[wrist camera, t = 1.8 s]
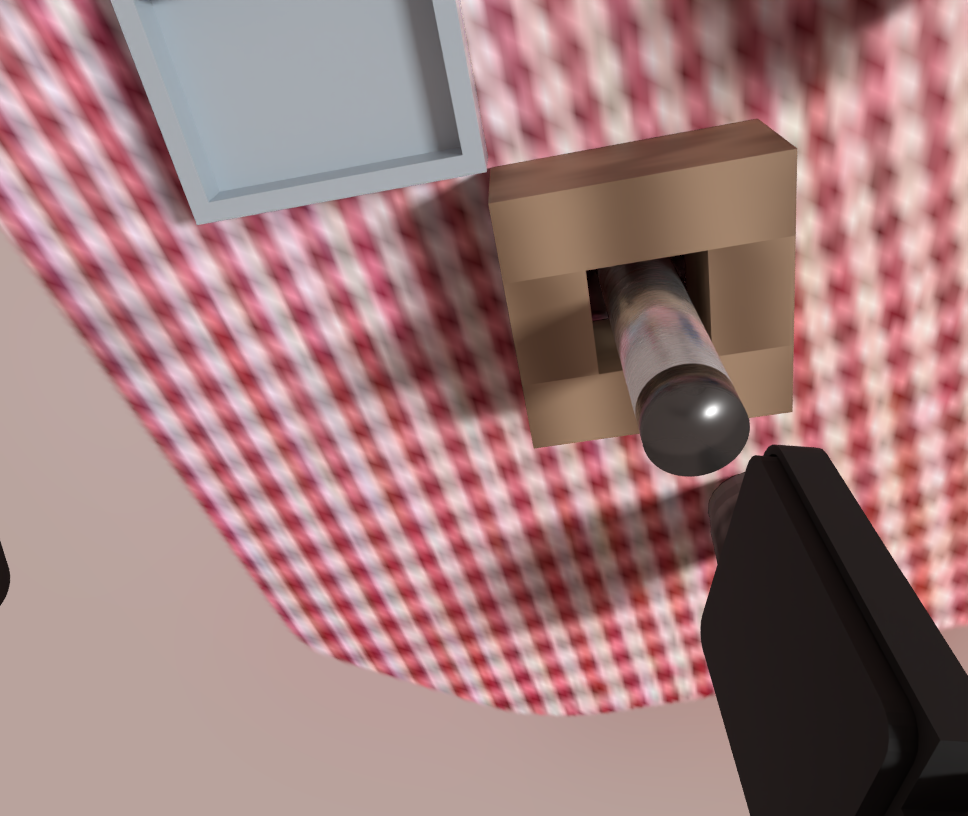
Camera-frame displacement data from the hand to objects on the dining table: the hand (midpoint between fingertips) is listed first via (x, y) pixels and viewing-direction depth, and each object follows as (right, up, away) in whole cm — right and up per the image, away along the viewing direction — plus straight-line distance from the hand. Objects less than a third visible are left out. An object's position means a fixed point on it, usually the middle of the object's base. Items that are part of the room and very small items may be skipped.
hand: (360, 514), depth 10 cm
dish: (-5, +15, +22) cm, 27 cm away
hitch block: (+8, +8, +26) cm, 28 cm away
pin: (+8, +8, +26) cm, 28 cm away
